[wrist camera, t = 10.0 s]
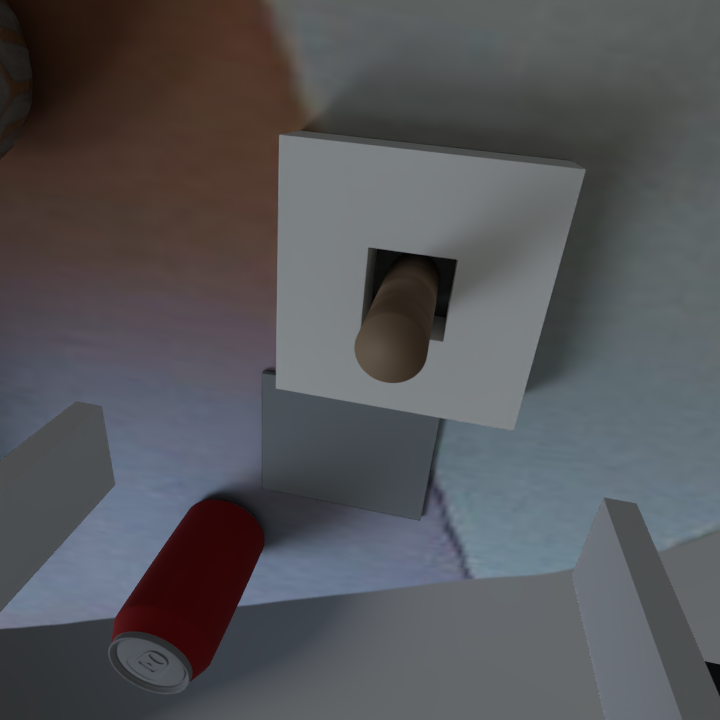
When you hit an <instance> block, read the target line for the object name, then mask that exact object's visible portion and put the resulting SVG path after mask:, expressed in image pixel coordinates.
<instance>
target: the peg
mask: <svg viewBox="0 0 720 720" xmlns="http://www.w3.org/2000/svg"><path fill="white" fill-rule="evenodd" d="M439 282H440V272H439V268H438V266H437V264H436V263H435V261H434V260H433V259H432V258H431V257H430V256H427V255H420V254H413V253H403V254H401V255H400V256H398V257H397V258H396V259H395V260H394V261H393V262H392V264H391V266H390V268H389V270H388V272H387V274H386V276H385V278H384V280H383V283H382V285H381V287H380V289H379V291H378V293H377V295H376V297H375V299H374V301H373V303H372V305H371V308H370V310H369V312H368V314H367V316H366V318H365V320H364V322H363V324H362V326H361V328H360V331H359V333H358V335H357V337H356V340H355V345H354V350H355V356H356V359H357V361H358V363H359V365H360V367H361V368H362V369H363V370H364V371H365V372H366V373H367V374H368V375H369V376H371V377H373V378H374V379H376V380H379V381H382V382H386V383H401V382H404V381H407V380H410V379H411V378H413V377H415V376H416V375H417V374H418V373H419V372H420V371H421V370H422V368H423V367H424V365H425V362H426V359H427V354H428V348H429V342H430V336H431V330H432V324H433V318H434V312H435V306H436V300H437V294H438V288H439Z"/></svg>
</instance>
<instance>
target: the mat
mask: <svg viewBox="0 0 720 720" xmlns="http://www.w3.org/2000/svg"><path fill="white" fill-rule="evenodd" d="M439 420H440V418H438V417H433V416H427V415H422V414H416V413H410V412H405V411H399V410H394V409H388V408H382V407H377V406H371V405H365V404H360V403H354V402H349V401H343V400H337V399H332V398H326V397H321V396H315V395H309V394H304V393H298V392H293V391H287V390H281V389H276V372H270V371H263V373H262V489H267V490H272V491H277V492H282V493H287V494H292V495H297V496H302V497H306V498H311V499H316V500H321V501H326V502H331V503H336V504H341V505H346V506H351V507H355V508H360V509H365V510H370V511H375V512H380V513H385V514H390V515H395V516H399V517H404V518H409V519H414V520H419V521H420V519H421V514H422V509H423V503H424V498H425V493H426V488H427V483H428V477H429V472H430V467H431V462H432V457H433V451H434V446H435V441H436V436H437V431H438V426H439Z"/></svg>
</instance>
